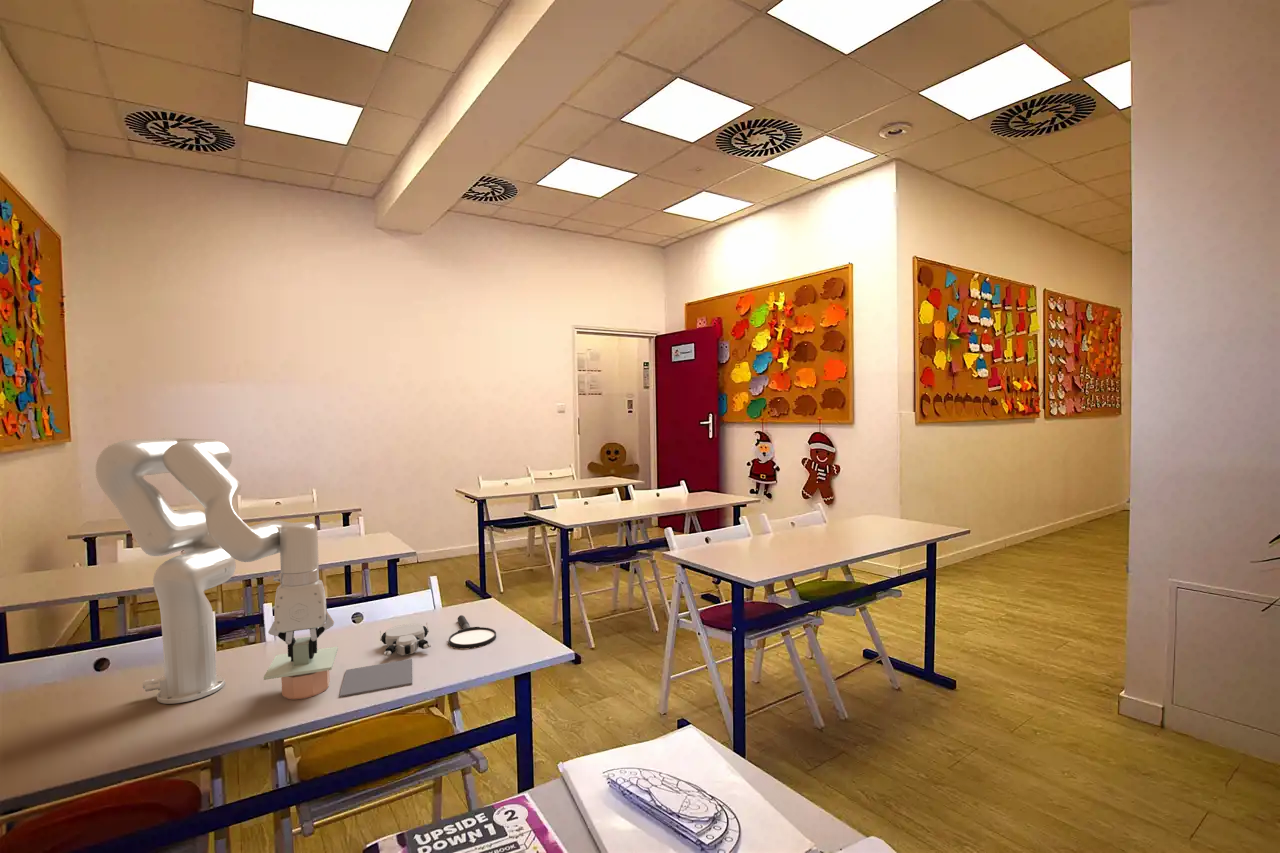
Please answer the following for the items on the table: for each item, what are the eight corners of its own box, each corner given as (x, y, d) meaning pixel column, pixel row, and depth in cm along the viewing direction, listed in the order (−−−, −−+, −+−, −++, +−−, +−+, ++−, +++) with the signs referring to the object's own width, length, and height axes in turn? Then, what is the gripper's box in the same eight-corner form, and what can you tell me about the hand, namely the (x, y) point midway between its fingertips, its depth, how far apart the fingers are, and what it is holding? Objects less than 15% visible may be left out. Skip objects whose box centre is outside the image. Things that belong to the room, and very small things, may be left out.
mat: (339, 697, 134) (339, 695, 134) (346, 671, 148) (346, 669, 148) (412, 684, 140) (412, 682, 140) (412, 660, 154) (412, 658, 154)
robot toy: (433, 657, 158) (427, 634, 171) (432, 640, 157) (426, 618, 171) (382, 666, 153) (380, 642, 166) (381, 649, 152) (379, 626, 166)
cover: (263, 680, 130) (262, 656, 130) (276, 657, 142) (275, 635, 142) (331, 669, 135) (330, 646, 135) (338, 648, 147) (337, 627, 147)
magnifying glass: (482, 618, 185) (482, 611, 185) (501, 645, 164) (500, 637, 163) (439, 626, 180) (439, 619, 179) (453, 655, 158) (452, 647, 158)
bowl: (279, 702, 133) (278, 680, 133) (287, 685, 141) (286, 664, 141) (326, 694, 136) (325, 672, 136) (331, 678, 144) (330, 657, 144)
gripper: (254, 586, 132) (257, 670, 132) (338, 577, 137) (341, 658, 138) (262, 577, 139) (265, 657, 139) (341, 569, 144) (344, 646, 145)
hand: (302, 657), depth 139 cm, fingers closed on cover, 3 cm apart
